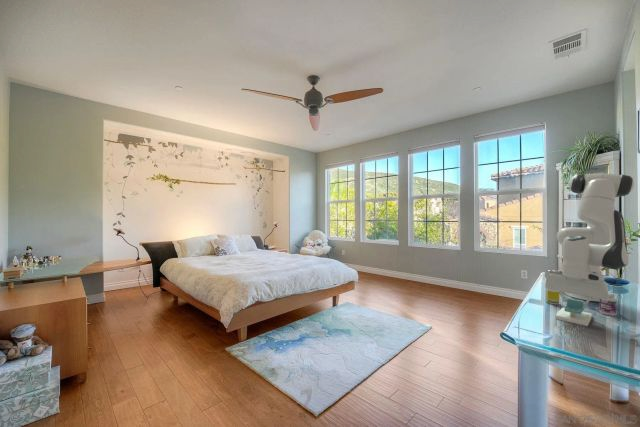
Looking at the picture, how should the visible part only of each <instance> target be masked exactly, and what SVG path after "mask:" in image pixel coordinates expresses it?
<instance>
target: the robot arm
mask: <svg viewBox="0 0 640 427" xmlns="http://www.w3.org/2000/svg"><path fill="white" fill-rule="evenodd" d="M634 188H635V182H634V179H633V177H632V176H630V175H628V174H627V175H626V174H616V173H615V174H614V173H604V172H602V173H577V174H575V175H573V177H572V178H571V179H570V181H569V189H570V191H571V192H572V193H574V194H578V195H580V194H581V199H580V201H579V207H578V211H577V217H578V219H579V220H581V221H582V222H584V223H586V224H587V225H586V227H577V226H576V227H574V226H572V227H571V226H570V227H564V228H560V229H559V230H558V231H557V232H556V240H557V242H558V243H559V244H560V245H561V246H562V248H561V256H562V263H561V270H555V269H554V270H553V269H549V270H546V271H545V272H544V277H545V283H544V285H545V286H544V287H545V290H546V289H548V290H553V291H559V292H560V297H561V299H562V303H566V304H567V298H566V296H568V297H570V298H573V299H577V300H582V301H583V306H585V308H586V307H587V308H588V307H589V302H600V299H607V298H609V293H610V292H609V291H610V290H609V287H608V284H607V282H606V281H605V275H604V274H602V273H601V267H603V268H605V269H606V268H607V269H612V270H620V269H622V268H624V267H626V266H628V264H629V254H628V249H627V241H626V240H627V237H626V229H625V228H626V227H625V226H626V225H625V219H624V216H623V214H622V213H621V211H619V210H617V209H616V207H615V202H616V198H618V197H619V198H620V197H625V196H628V195H630V193H631V192H632V191H633V189H634ZM565 295H566V296H565Z"/></svg>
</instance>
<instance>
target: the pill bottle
mask: <svg viewBox="0 0 640 427" xmlns="http://www.w3.org/2000/svg"><path fill="white" fill-rule="evenodd" d="M615 295H616V294H615V293H613V292H609V298H607V299H600V301H599V308H598V309H599V313H600V314H603V315H607V316H612V317H613V316H616V315H617V299H616V298H615V297H616V296H615Z"/></svg>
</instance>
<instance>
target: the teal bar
mask: <svg viewBox="0 0 640 427" xmlns="http://www.w3.org/2000/svg"><path fill="white" fill-rule="evenodd" d="M583 301H584V300H583V299H578V298H572V297H570V298H569V297H568V298H567V303H566V306H565V307H564V308H565V311H566V312H571V313H575V314H580V315H581V313H582V312H584V310H585V308H586V306H583Z"/></svg>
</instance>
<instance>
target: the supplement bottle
mask: <svg viewBox="0 0 640 427" xmlns="http://www.w3.org/2000/svg"><path fill="white" fill-rule="evenodd" d="M560 297H561V295H560V292H559V291H553V290H548V289H546V288H545V303H548V304H551V305H560Z"/></svg>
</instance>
